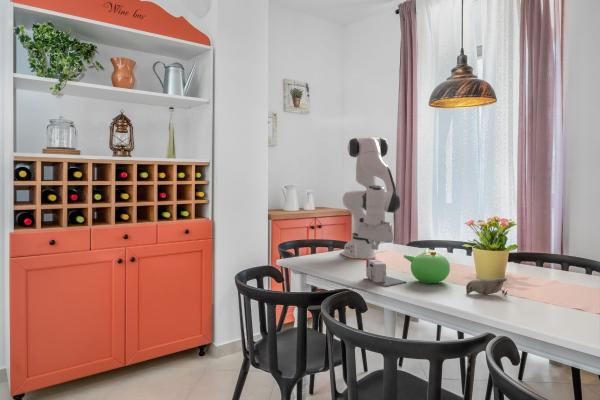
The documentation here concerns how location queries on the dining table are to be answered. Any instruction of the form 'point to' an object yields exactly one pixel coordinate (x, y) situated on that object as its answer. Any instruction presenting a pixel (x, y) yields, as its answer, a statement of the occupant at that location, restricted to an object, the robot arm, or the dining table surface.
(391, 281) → the mat
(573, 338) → the dining table surface
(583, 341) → the dining table surface
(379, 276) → the ink box
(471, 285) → the decorative bird
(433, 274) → the green teapot
